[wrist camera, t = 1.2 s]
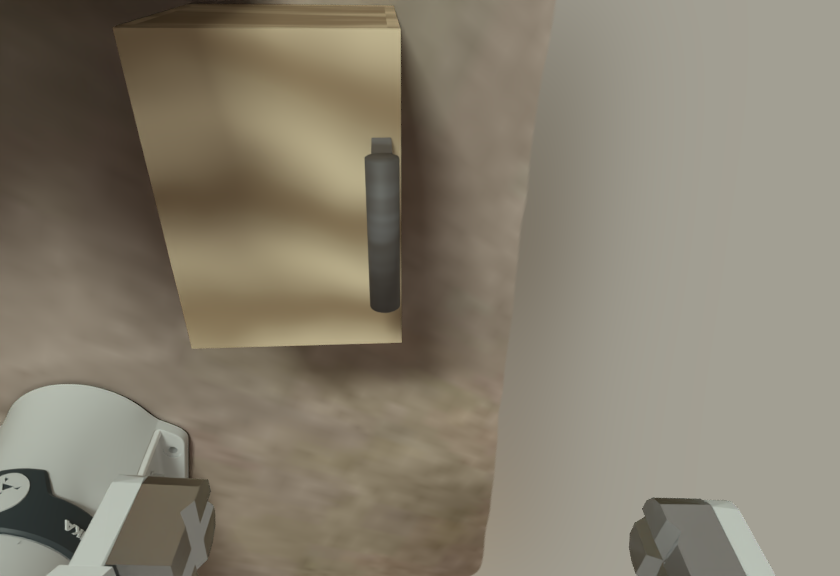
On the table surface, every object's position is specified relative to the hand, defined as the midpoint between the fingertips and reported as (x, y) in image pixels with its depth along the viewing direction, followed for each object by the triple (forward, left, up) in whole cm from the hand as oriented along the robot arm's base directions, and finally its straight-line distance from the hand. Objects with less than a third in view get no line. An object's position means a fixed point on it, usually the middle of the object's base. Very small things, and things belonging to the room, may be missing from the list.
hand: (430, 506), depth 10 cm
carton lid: (-3, +6, -22) cm, 23 cm away
